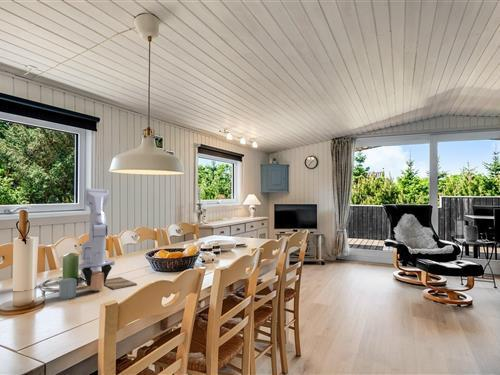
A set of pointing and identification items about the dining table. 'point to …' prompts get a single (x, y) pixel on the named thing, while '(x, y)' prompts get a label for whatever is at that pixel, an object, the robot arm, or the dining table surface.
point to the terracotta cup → (97, 280)
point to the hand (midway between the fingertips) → (95, 284)
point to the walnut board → (118, 283)
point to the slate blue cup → (67, 288)
